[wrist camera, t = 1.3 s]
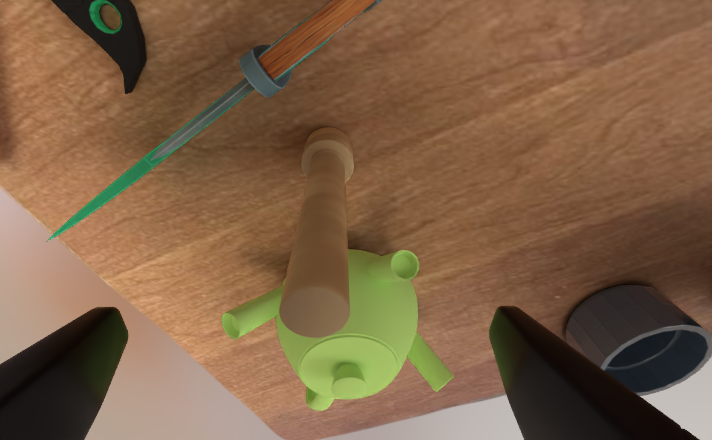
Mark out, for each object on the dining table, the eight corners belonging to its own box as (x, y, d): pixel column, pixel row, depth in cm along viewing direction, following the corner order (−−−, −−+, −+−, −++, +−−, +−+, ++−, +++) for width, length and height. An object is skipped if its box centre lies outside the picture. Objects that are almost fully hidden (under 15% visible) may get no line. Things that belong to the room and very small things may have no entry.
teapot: (306, 349, 28) (294, 461, 21) (239, 246, 23) (192, 350, 15) (433, 314, 27) (469, 421, 20) (395, 195, 21) (425, 283, 14)
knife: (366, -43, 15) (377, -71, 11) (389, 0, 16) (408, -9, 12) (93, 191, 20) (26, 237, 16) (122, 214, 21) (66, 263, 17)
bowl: (681, 281, 26) (740, 325, 22) (632, 349, 30) (675, 397, 26) (585, 279, 26) (628, 324, 22) (548, 349, 30) (580, 397, 26)
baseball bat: (353, 127, 19) (374, 272, 8) (351, 173, 20) (365, 351, 9) (304, 125, 19) (253, 269, 8) (305, 171, 20) (263, 350, 9)
